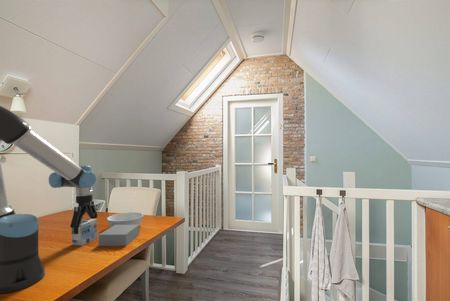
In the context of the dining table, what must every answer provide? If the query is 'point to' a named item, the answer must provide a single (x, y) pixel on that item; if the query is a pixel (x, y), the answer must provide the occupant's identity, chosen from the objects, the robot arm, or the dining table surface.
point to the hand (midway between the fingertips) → (85, 235)
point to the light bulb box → (86, 232)
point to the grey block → (118, 235)
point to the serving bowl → (125, 219)
